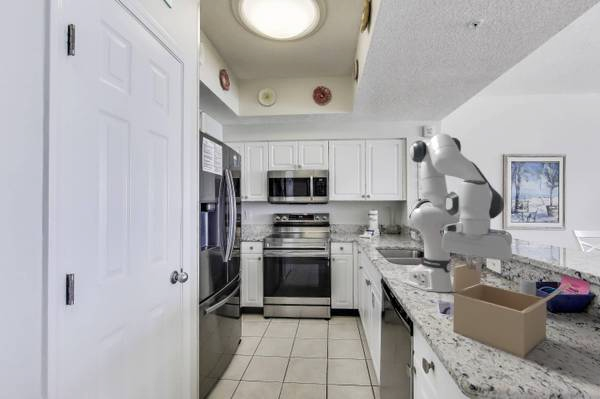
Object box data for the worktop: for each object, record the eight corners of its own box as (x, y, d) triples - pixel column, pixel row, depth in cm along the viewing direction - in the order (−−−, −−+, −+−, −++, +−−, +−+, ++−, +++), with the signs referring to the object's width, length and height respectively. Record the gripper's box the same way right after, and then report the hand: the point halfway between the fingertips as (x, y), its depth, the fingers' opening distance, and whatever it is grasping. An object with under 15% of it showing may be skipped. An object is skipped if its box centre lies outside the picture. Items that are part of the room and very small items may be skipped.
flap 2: (551, 294, 69) (553, 296, 69) (570, 282, 80) (572, 284, 79) (524, 311, 73) (526, 313, 73) (546, 297, 84) (547, 299, 84)
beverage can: (538, 315, 101) (539, 282, 101) (523, 314, 102) (524, 281, 102) (530, 310, 106) (530, 279, 106) (516, 309, 107) (516, 278, 107)
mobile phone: (438, 313, 101) (437, 299, 114) (438, 315, 101) (437, 302, 114) (462, 317, 97) (458, 302, 111) (462, 319, 97) (458, 305, 111)
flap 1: (481, 260, 99) (479, 260, 99) (456, 267, 88) (454, 267, 88) (480, 282, 99) (478, 282, 99) (454, 292, 88) (452, 291, 88)
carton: (453, 331, 88) (453, 293, 88) (480, 317, 99) (481, 283, 99) (523, 358, 73) (524, 313, 73) (546, 337, 84) (546, 298, 84)
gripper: (515, 230, 85) (515, 274, 85) (448, 225, 102) (448, 262, 102) (508, 231, 82) (507, 277, 82) (439, 226, 99) (439, 264, 98)
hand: (474, 269), depth 92 cm, fingers closed
